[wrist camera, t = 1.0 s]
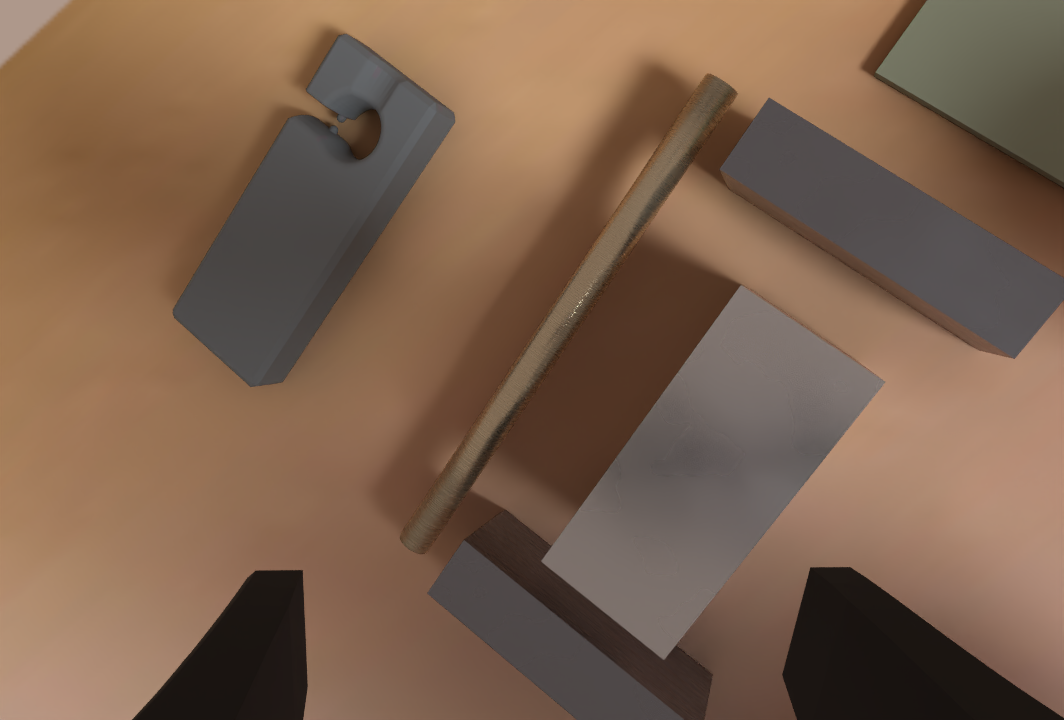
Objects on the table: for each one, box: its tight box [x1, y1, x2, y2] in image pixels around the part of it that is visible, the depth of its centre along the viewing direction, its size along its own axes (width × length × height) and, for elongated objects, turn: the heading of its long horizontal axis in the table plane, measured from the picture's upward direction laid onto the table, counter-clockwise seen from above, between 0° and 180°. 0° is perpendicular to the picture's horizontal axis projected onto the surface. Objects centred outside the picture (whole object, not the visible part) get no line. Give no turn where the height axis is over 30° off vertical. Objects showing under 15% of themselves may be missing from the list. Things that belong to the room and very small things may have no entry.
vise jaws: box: [400, 73, 1064, 720], centre depth 22 cm, size 10×16×4 cm, turn 146°
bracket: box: [173, 34, 455, 387], centre depth 27 cm, size 4×11×2 cm, turn 143°
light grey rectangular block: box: [541, 285, 885, 660], centre depth 21 cm, size 4×8×6 cm, turn 146°
